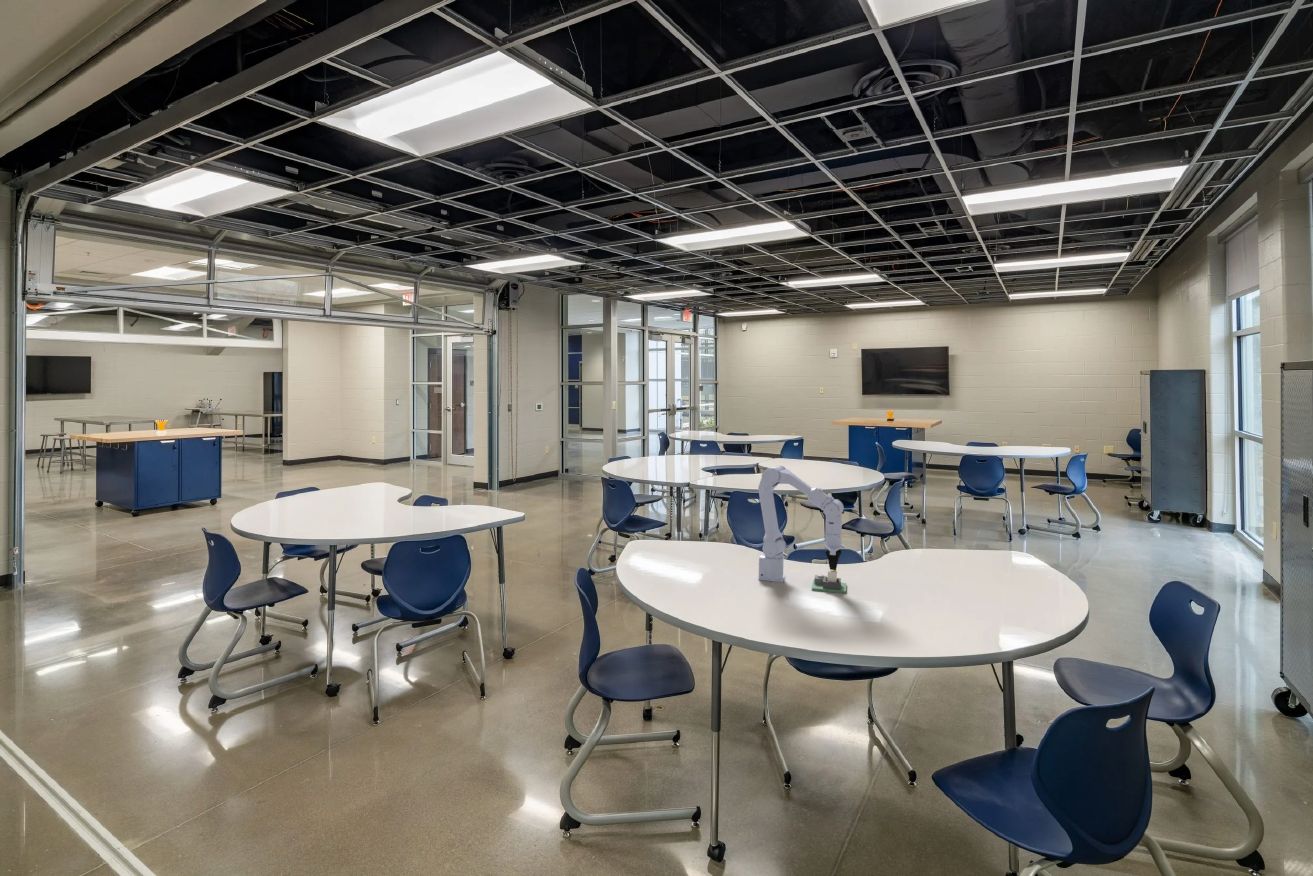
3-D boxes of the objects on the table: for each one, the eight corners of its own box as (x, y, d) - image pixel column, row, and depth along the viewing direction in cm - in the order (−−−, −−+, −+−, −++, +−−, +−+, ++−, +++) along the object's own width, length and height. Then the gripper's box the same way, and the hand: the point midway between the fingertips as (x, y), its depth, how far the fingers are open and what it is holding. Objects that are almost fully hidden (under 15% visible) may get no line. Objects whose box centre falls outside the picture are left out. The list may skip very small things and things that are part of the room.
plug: (827, 587, 227) (828, 569, 226) (827, 584, 230) (828, 566, 229) (836, 588, 226) (837, 570, 225) (836, 585, 229) (837, 567, 228)
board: (811, 590, 226) (812, 580, 226) (813, 581, 236) (813, 572, 235) (845, 593, 223) (846, 583, 222) (846, 585, 232) (846, 575, 232)
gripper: (844, 538, 218) (844, 576, 219) (845, 529, 232) (844, 564, 233) (824, 537, 220) (823, 574, 221) (825, 528, 234) (825, 563, 235)
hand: (833, 569), depth 227 cm, fingers closed, pressing on plug
